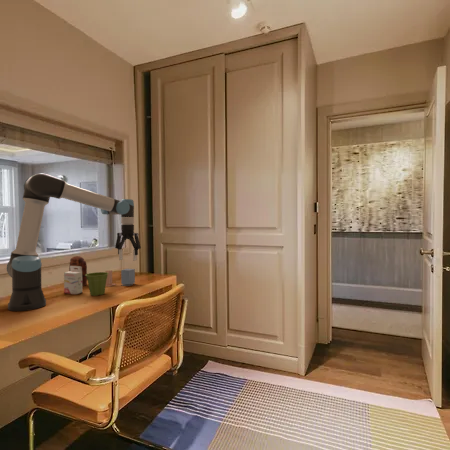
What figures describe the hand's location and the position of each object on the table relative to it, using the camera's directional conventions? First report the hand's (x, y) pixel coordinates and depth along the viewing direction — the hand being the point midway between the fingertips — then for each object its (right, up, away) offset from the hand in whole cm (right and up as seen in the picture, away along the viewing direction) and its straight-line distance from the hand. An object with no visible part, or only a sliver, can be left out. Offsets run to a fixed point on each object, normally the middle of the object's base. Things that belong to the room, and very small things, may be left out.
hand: (127, 260), depth 192 cm
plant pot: (-10, -16, -23) cm, 30 cm away
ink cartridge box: (-24, -16, -20) cm, 35 cm away
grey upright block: (0, -15, 0) cm, 15 cm away
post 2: (0, -16, 0) cm, 16 cm away
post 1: (-12, -16, -1) cm, 19 cm away
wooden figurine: (-31, -16, 0) cm, 35 cm away
